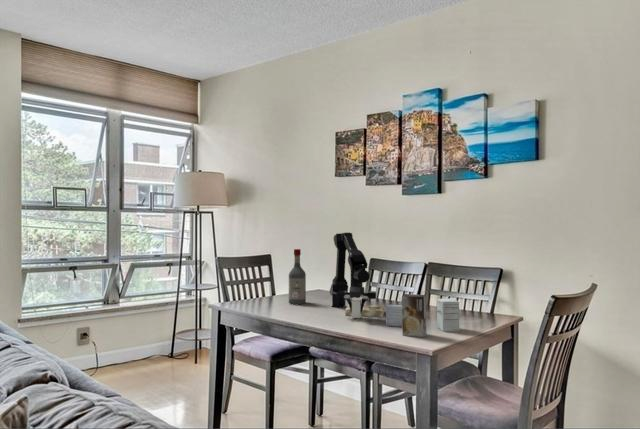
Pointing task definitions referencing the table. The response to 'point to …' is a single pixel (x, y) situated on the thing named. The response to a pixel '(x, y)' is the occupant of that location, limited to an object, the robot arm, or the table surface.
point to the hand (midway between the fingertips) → (356, 312)
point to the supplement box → (448, 315)
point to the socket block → (368, 311)
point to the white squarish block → (356, 308)
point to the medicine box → (394, 315)
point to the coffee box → (414, 315)
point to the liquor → (297, 281)
